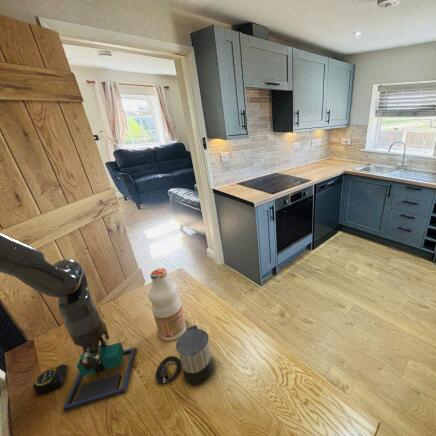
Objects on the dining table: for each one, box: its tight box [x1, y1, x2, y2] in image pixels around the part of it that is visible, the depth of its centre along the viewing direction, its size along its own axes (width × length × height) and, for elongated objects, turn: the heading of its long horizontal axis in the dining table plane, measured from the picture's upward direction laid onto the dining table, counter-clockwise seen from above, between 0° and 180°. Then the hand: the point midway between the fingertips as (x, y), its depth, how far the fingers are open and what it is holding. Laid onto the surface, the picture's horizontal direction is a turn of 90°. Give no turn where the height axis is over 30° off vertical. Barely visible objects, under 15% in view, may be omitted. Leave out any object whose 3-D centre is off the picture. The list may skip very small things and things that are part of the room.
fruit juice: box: [148, 267, 187, 342], centre depth 86 cm, size 9×9×28 cm
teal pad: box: [76, 342, 125, 377], centre depth 74 cm, size 10×5×5 cm, turn 110°
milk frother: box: [155, 324, 214, 386], centre depth 74 cm, size 14×16×15 cm
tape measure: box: [32, 363, 69, 395], centre depth 72 cm, size 7×7×4 cm
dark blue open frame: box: [62, 347, 137, 412], centre depth 74 cm, size 15×15×2 cm
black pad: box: [74, 373, 122, 402], centre depth 71 cm, size 10×5×2 cm, turn 111°
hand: (103, 362), depth 75 cm, fingers closed on teal pad, 5 cm apart
